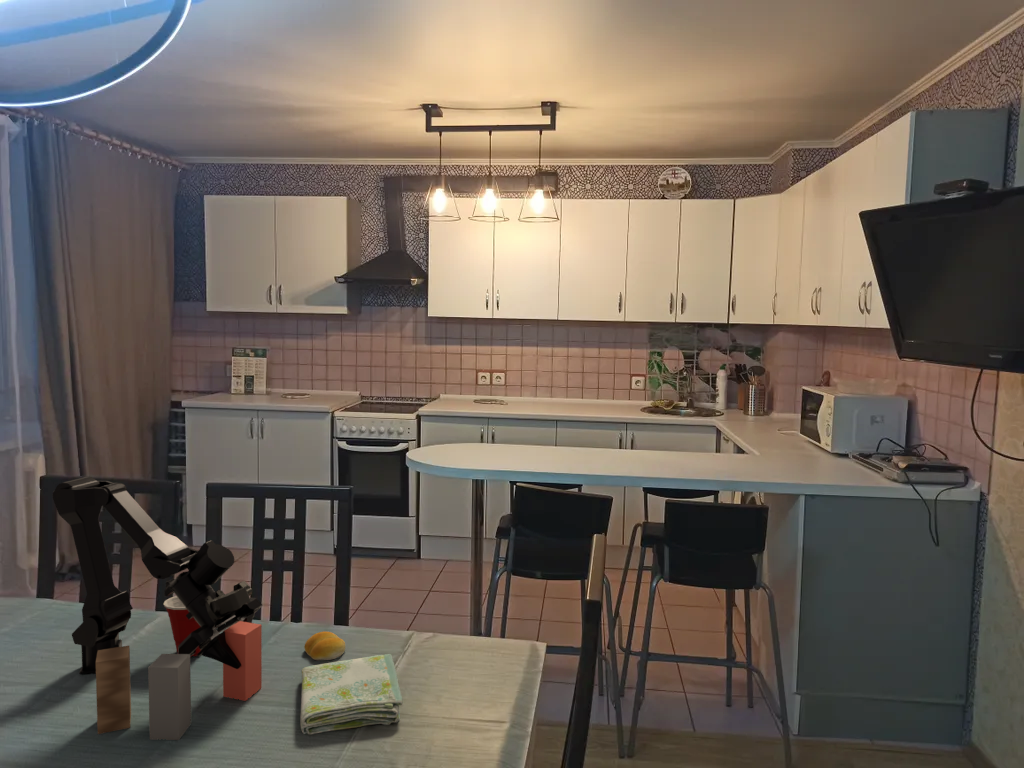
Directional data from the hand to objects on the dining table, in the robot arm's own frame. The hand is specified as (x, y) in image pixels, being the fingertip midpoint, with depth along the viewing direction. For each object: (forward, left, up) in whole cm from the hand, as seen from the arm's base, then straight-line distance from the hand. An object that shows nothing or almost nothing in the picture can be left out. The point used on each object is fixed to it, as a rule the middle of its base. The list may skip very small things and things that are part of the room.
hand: (248, 660), depth 139 cm
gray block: (-12, -10, -7) cm, 17 cm away
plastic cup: (-13, +22, -7) cm, 26 cm away
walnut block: (-22, -5, -7) cm, 24 cm away
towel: (+19, -7, -7) cm, 21 cm away
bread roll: (+15, +15, -7) cm, 22 cm away
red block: (-1, +1, -7) cm, 7 cm away
